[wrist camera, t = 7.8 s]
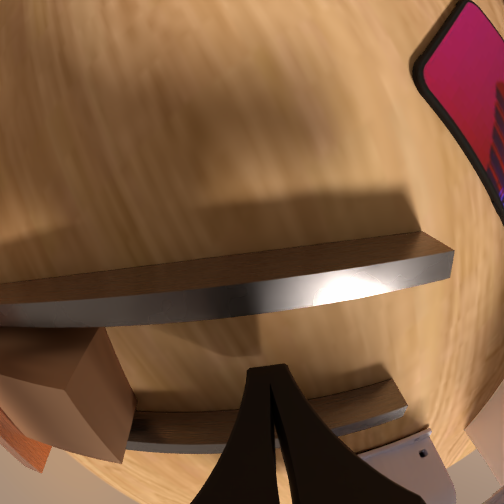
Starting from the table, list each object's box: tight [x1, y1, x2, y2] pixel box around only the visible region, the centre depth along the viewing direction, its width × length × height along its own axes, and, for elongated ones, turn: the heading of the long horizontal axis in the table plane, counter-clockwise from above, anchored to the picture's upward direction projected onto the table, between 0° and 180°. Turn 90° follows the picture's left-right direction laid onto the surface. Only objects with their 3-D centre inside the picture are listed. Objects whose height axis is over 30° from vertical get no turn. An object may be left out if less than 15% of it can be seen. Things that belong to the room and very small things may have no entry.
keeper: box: [0, 326, 138, 464], centre depth 9 cm, size 6×5×4 cm
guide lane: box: [0, 231, 454, 473], centre depth 8 cm, size 20×9×5 cm, turn 96°
